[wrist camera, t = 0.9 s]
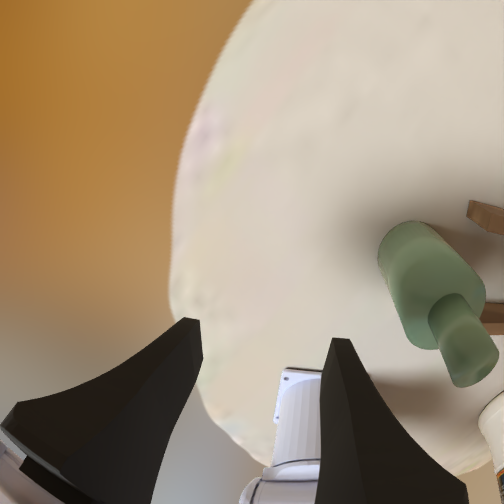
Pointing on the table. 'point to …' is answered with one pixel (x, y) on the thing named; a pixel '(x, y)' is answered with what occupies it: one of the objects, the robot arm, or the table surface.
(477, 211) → the u rest
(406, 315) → the green bottle
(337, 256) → the table surface
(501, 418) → the vodka
